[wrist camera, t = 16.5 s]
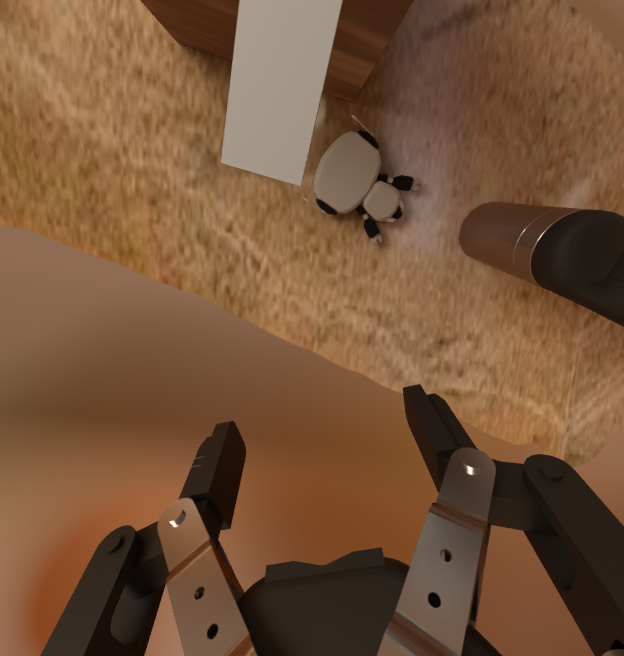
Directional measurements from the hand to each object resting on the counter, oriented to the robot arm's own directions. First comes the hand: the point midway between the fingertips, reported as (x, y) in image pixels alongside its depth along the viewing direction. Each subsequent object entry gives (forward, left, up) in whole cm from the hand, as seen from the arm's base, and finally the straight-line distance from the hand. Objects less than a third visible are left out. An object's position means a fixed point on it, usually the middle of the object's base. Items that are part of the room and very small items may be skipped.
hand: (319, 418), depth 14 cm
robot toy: (-10, -7, -40) cm, 42 cm away
